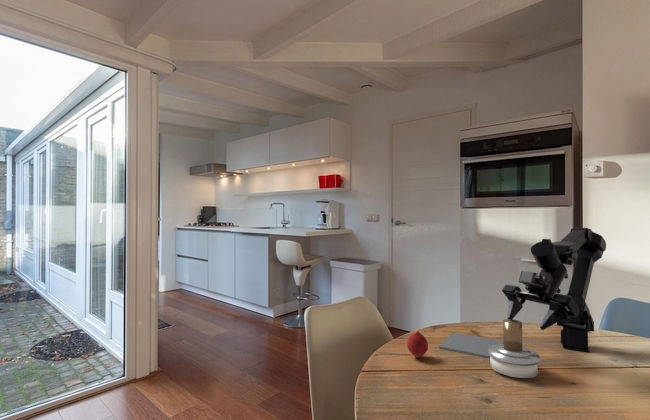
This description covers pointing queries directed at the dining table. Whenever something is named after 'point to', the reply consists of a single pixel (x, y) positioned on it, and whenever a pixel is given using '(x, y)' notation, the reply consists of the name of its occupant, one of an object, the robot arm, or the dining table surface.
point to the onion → (417, 344)
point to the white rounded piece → (514, 369)
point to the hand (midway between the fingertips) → (524, 324)
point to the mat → (469, 344)
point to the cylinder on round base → (513, 346)
